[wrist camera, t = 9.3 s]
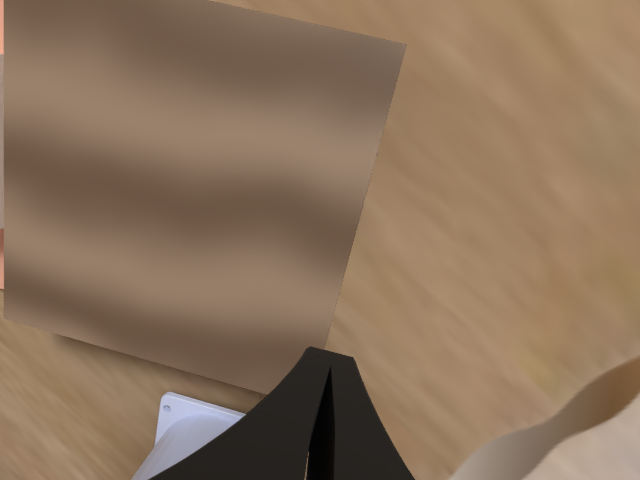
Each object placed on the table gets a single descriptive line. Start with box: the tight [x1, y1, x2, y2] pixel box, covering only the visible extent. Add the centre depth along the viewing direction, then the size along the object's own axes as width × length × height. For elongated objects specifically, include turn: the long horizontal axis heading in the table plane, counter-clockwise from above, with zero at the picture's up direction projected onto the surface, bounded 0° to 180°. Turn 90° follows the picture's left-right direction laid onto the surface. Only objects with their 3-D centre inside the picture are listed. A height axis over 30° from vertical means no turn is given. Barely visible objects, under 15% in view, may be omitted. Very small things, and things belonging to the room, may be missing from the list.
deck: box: [4, 0, 407, 395], centre depth 16 cm, size 16×16×4 cm
